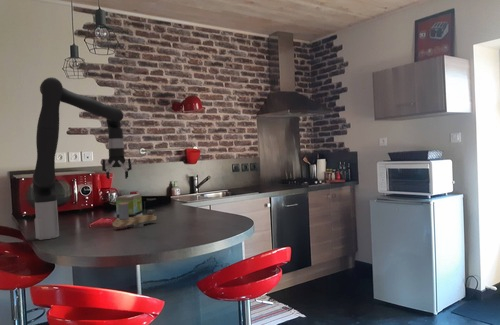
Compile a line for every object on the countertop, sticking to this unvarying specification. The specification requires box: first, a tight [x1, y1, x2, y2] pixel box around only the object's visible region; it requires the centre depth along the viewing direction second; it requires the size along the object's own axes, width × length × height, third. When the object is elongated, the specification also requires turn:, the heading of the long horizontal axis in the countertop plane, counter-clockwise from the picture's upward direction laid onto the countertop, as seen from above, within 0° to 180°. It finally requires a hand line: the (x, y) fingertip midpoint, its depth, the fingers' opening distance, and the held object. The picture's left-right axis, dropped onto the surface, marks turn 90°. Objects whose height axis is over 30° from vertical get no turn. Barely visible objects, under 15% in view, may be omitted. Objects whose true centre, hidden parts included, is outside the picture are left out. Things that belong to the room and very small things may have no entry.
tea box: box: [115, 193, 143, 220], centre depth 218 cm, size 15×10×15 cm
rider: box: [118, 202, 129, 220], centre depth 196 cm, size 3×4×9 cm
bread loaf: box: [112, 209, 157, 229], centre depth 200 cm, size 22×7×7 cm, turn 136°
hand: (117, 179), depth 202 cm, fingers open, 8 cm apart
